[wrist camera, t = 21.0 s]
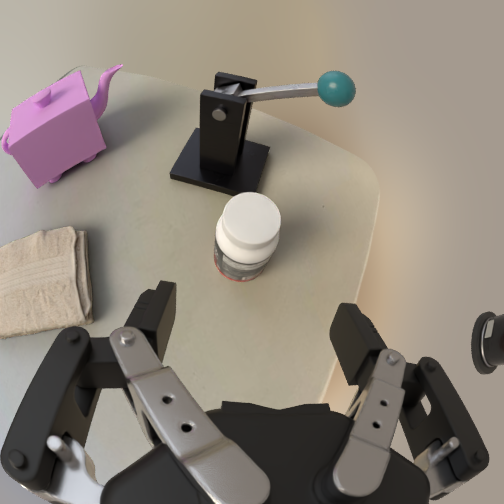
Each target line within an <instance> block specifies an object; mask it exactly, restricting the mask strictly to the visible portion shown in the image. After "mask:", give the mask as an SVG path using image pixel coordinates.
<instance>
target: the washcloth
mask: <svg viewBox="0 0 504 504" xmlns="http://www.w3.org/2000/svg"><path fill="white" fill-rule="evenodd" d="M92 302H93V301H92V287H91V281H90V273H89V264H88V246H87V232H86V230H84V231H75V229H74V228H73V227H71V226H67V227H62V228H59V229H55V230H48V231H45V230H40V231H38V232H36V233H35V234H32V235H29V236H27V237H24V238H21V239H18V240H15V241H13V242H10V243H8V244H7V245H5V246H2V247H0V339H3V338H5V339H6V338H7V337H9V338H10V337H14V336H22V335H27V334H34V333H35V334H36V333H38V332H41V331H47V330H53V329H58V328H60V329H61V328H68V327H71V326H77V325H78V326H80V325H84V324H86V325H88V324H90V323H93V322H94V319H93V315H92Z"/></svg>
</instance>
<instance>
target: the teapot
mask: <svg viewBox="0 0 504 504" xmlns="http://www.w3.org/2000/svg"><path fill="white" fill-rule="evenodd" d="M122 66H123V65H122V64H120V65H117V66H114V67H112V68H110V69H108V70H106V71H105V72H104V73H103V75H102V76H101V78H100V80H99V85H98V90H97V93H96V95H95V96H94V97H93V98H92V99H91V100H90V98H89V95H88V93H87V90H86V87H85V84H84V80H83V77H82V74H81V71H77V72H75V73H73V74H71V75H69V76H67V77H65V78H63V79H61V80H59V81H57V82H55V83H54V84H52V85H50V86H48V87H46V88H45V89H43V90H41V91H39V92H38V93H36V94H35V95H33V96H32V97H30V98H28V99H27V100H25V101H24V102H22V103H21V104H19V105H18V106H17V107H15V108H13V109H12V114H11V121H10V127H9V128H8V129H7V130H6V131H5V133H4V135H3V138H2V148H3V150H4V151H5V152H6V153H7V154H10V155H13V157H14V158H15V160H16V161H17V163H18V164H19V165H20V167H21V168H22V169H23V171H24V172H25V174H26V175H27V176H28V178H29V179H30V180H31V182H32V183H33V184H34V185H35V187H36V188H37V189H38V188H39V187H41V186H42V185H44V184H45V183H47V182H48V181H49V182H50V183H54V182H56V181H58V180H59V179H60V177H61V175H62V173H63V172H64V171H66V170H68V169H69V168H71V167H73V166H74V165H76V164H78V163H80V162H81V161H83V162H90V161H92V160H93V159H94V158H95V157H96V155H97V153H98V152H100V151H102V150H104V149H105V148H106V145H105V142H104V140H103V137H102V134H101V131H100V128H99V126H98V123H97V120H98V119H99V118H100V117H101V115H102V114H103V112H104V111H105V108H106V106H107V102H108V90H109V84H110V81H111V78H112V77H113V75H114V74H115V73H116V72H117V71H118V70H119V69H120V68H121V67H122ZM8 137H9V144H8V143H7V142H6V141H7V139H8Z"/></svg>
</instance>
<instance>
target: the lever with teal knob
mask: <svg viewBox="0 0 504 504" xmlns="http://www.w3.org/2000/svg"><path fill="white" fill-rule="evenodd" d="M215 92H220V93H225V94H229V95H233V96H238V97H242V98H246V99H247V103H248V102H256V101H264V100H272V99H282V98H295V97H310V96H320V98H321V99H322V100H323V101H324V102H325V103H326V104H328V105H330V106H334V107H342V106H346V105H348V104H349V103H350V102H351V101H352V100H353V99H354V97H355V93H356V88H355V84H354V82H353V80H352V79H351V78H350V77H349V76H348V75H346V74H345V73H342V72H340V71H330V72H326V73H325V74H323V75H322V76H321V77H320V78H319V80H318V83H304V84H292V85H282V86H273V87H265V88H258V89H251V90H245V91H243V90H242V87H241V85H240V83H239V84H234V85H229V86H224V87H219V88H216V89H215Z"/></svg>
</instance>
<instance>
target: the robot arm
mask: <svg viewBox="0 0 504 504" xmlns="http://www.w3.org/2000/svg"><path fill="white" fill-rule="evenodd" d="M175 314H176V283H174V282H168V281H160V282H159V284H158V286H157V288H156V290H151V289H148V290H146V291H145V292H143V293H142V294H141V295H140V297H139V299H138V301H137V302H136V304H135V306H134V308H133V310H132V312H131V314H130V315H129V317H128V319H127V321H126V323H125V325H124V327H120V328H118V329H116V330H114V331H113V332H112V333H111V335H110V337H102V338H90V336H89V333H88V331H87V330H85V329H84V328H82V327H78V326H72V327H68V328H65V329H63V330H62V331H61V332H60V333H59V334H58V336H57V338H56V339H55V341H54V343H53V344H52V346H51V348H50V349H49V351H48V353H47V354H46V356H45V358H44V360H43V361H42V363H41V365H40V367H39V368H38V370H37V372H36V374H35V376H34V378H33V380H32V382H31V384H30V385H29V387H28V389H27V391H26V393H25V395H24V398H23V400H22V402H21V404H20V406H19V408H18V410H17V413H16V415H15V417H14V419H13V422H12V424H11V426H10V429H9V431H8V434H7V436H6V439H5V442H4V444H3V447H2V450H1V454H0V459H1V464H2V466H3V469H4V470H5V472H6V473H7V474H8V475H9V476H10V477H11V478H13V479H14V480H15V481H17V482H18V483H20V484H21V485H22V486H23V487H24V488H25V489H27V490H28V491H30V492H32V493H33V494H35V495H36V496H38V497H40V498H42V499H44V500H46V501H48V502H50V503H52V504H429V499H430V500H438V499H440V498H442V497H444V496H445V495H447V494H449V493H450V492H452V491H454V490H455V489H457V488H458V487H460V486H461V485H463V484H464V483H466V482H467V481H469V480H470V479H472V478H473V477H475V476H476V475H477V474H479V473H480V472H481V471H483V470H484V469H485V468H486V467H487V466H488V463H489V454H488V451H487V449H486V447H485V445H484V443H483V440H482V438H481V436H480V434H479V432H478V430H477V428H476V426H475V424H474V422H473V421H472V419H471V417H470V415H469V413H468V411H467V410H466V407H465V406H464V404H463V402H462V400H461V398H460V397H459V395H458V393H457V392H456V390H455V388H454V387H453V385H452V383H451V381H450V380H449V378H448V376H447V375H446V373H445V372H444V370H443V368H442V367H441V365H440V364H439V363H438V362H437V361H436V360H435V359H433V358H430V357H422V358H421V359H420V361H419V362H418V364H412V363H407V362H406V361H405V358H404V357H403V356H402V355H401V354H400V353H399V352H397V351H395V350H392V349H388V348H387V346H386V345H385V343H384V341H383V340H382V338H381V336H380V335H379V333H377V330H376V328H374V325H373V323H372V322H371V320H370V319H369V318H368V317H366V316H365V315H364V314H362V313H361V311H360V310H359V308H358V307H357V305H356V304H352V303H341V304H340V305H339V307H338V309H337V312H336V315H335V317H334V320H333V322H332V325H331V327H330V340H331V342H332V345H333V347H334V350H335V352H336V355H337V357H338V360H339V362H340V365H341V367H342V370H343V372H344V375H345V377H346V380H347V383H348V385H349V386H350V385H358V386H359V388H358V390H357V391H356V393H355V395H354V397H353V399H352V402H351V404H350V406H349V408H348V410H347V412H346V414H345V415H343V414H341V413H338V412H334V411H330V407H329V404H328V403H325V404H303V405H299V406H295V407H290V408H286V409H281V410H277V409H272V408H268V407H263V406H259V405H255V404H252V403H241V402H228V401H222V406H221V409H214V410H210V411H206V412H204V411H203V410H202V409H201V407H200V406H199V405H198V403H197V402H196V401H195V400H194V398H193V397H192V396H191V394H190V393H189V392H188V390H187V389H186V387H185V386H184V385H183V383H182V382H181V381H180V379H179V378H178V376H177V375H176V373H175V372H174V371H173V369H172V368H171V367H169V366H167V367H164V366H163V365H162V362H163V358H164V355H165V351H166V348H167V344H168V341H169V337H170V334H171V331H172V327H173V324H174V320H175ZM479 347H480V355H481V359H482V361H483V363H484V365H485V366H487V367H494V366H497V365H504V314H502V315H499V316H496V317H491V318H488V319H487V320H486V321H485V322H484V324H483V326H482V329H481V333H480V341H479ZM102 388H121V389H122V391H123V393H124V395H125V397H126V399H127V401H128V403H129V405H130V407H131V409H132V411H133V413H134V414H135V416H136V418H137V420H138V422H139V424H140V426H141V429H142V431H143V433H144V435H145V437H146V439H147V440H148V442H149V444H150V445H151V447H152V450H151V451H149V452H148V453H147V454H145V455H144V456H143V457H141V458H140V459H138V460H137V461H136V462H134V463H133V464H131V465H130V466H129V467H127V468H126V469H124V470H123V471H121V472H120V473H118V474H117V475H115V476H114V477H112V478H111V479H110V480H109V481H108V482H107V483H106V484H105V486H103V485H100V484H99V483H98V482H97V480H96V477H95V465H94V462H93V460H92V459H91V458H90V456H89V455H88V454H87V453H86V451H85V450H84V447H85V443H86V439H87V436H88V432H89V429H90V425H91V422H92V418H93V415H94V412H95V408H96V405H97V402H98V399H99V396H100V393H101V390H102ZM425 395H426V396H427V398H428V400H429V402H430V404H431V412H430V414H429V415H428V416H427V414H426V412H425V410H424V408H423V405H422V403H421V400H422V398H423V397H424V396H425ZM398 419H399V420H400V423H401V425H402V428H403V431H404V433H405V436H406V439H407V442H408V444H409V447H410V450H411V453H412V456H413V459H414V463H412V462H411V461H409V460H407V459H406V458H405V457H403V456H402V455H400V454H399V453H398V452H396V451H394V450H393V449H392V448H390V446H391V442H392V439H393V436H394V433H395V429H396V426H397V422H398Z"/></svg>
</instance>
